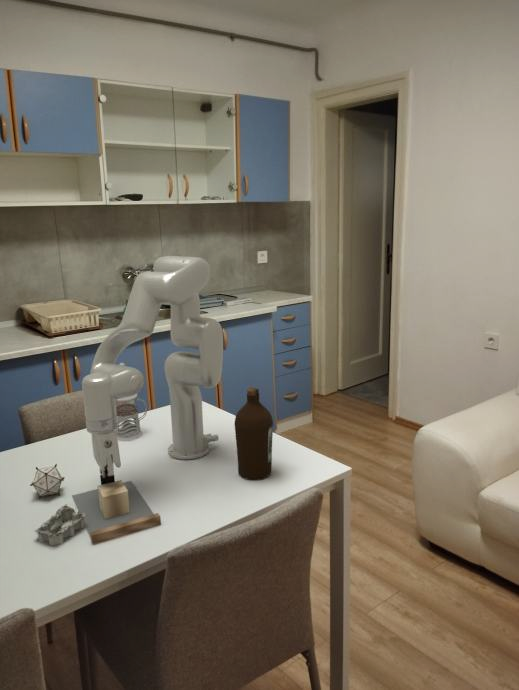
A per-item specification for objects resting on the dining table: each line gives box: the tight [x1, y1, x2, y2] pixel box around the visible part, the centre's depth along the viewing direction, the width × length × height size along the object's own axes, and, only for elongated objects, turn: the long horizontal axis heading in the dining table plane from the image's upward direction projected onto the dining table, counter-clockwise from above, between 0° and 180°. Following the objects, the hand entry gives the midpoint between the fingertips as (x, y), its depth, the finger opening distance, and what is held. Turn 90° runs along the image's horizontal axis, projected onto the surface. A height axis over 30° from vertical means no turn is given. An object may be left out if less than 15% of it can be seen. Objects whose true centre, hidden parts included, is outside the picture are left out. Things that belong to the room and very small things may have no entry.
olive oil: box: [234, 386, 274, 481], centre depth 156 cm, size 11×11×25 cm
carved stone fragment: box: [34, 503, 87, 546], centre depth 131 cm, size 11×8×4 cm
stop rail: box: [90, 512, 162, 545], centre depth 131 cm, size 16×2×2 cm, turn 118°
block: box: [97, 479, 129, 519], centre depth 140 cm, size 6×6×6 cm
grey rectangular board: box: [71, 480, 155, 540], centre depth 142 cm, size 16×24×1 cm
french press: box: [115, 362, 148, 442], centre depth 184 cm, size 10×12×25 cm
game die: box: [29, 463, 66, 499], centre depth 148 cm, size 9×8×10 cm
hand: (108, 489), depth 144 cm, fingers closed
